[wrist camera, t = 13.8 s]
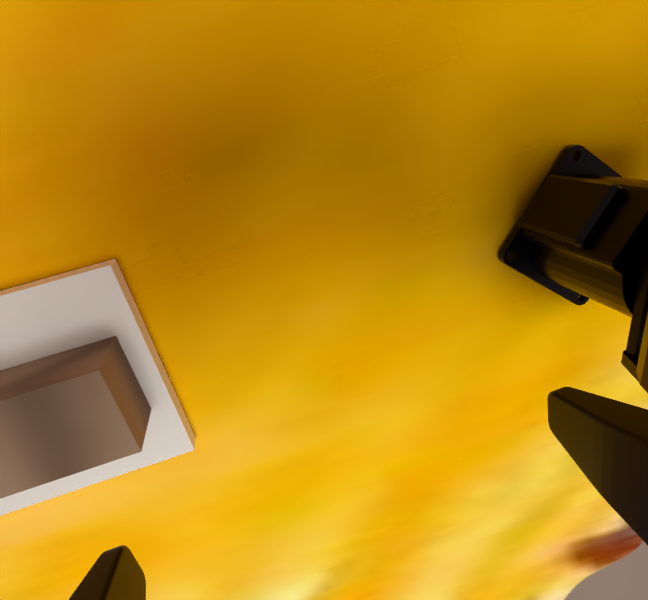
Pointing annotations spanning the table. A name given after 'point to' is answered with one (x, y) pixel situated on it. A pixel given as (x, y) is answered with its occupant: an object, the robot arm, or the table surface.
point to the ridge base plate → (81, 329)
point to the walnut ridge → (68, 415)
